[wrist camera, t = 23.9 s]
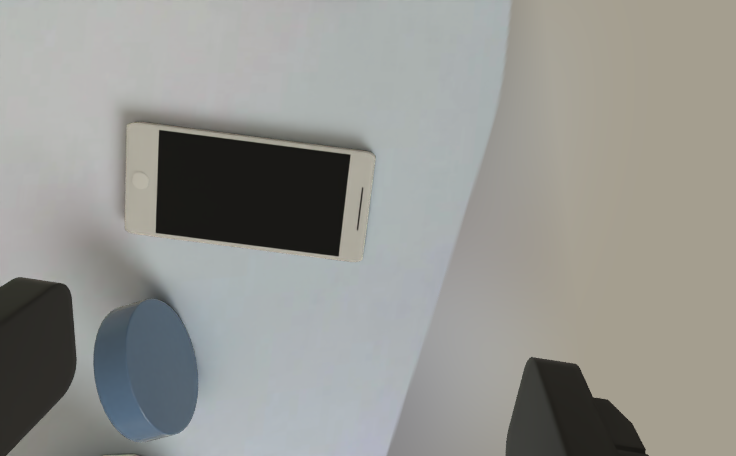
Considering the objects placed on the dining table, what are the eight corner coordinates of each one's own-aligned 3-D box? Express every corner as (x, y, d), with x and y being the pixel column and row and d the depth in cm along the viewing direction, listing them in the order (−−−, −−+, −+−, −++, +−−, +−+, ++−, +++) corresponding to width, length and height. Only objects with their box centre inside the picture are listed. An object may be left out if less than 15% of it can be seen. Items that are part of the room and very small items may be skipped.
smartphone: (132, 120, 35) (125, 121, 34) (376, 152, 35) (376, 153, 34) (130, 229, 37) (123, 233, 36) (362, 259, 37) (362, 264, 36)
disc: (188, 305, 40) (118, 289, 32) (206, 427, 37) (136, 443, 29) (162, 313, 40) (86, 299, 32) (179, 434, 37) (101, 452, 29)
